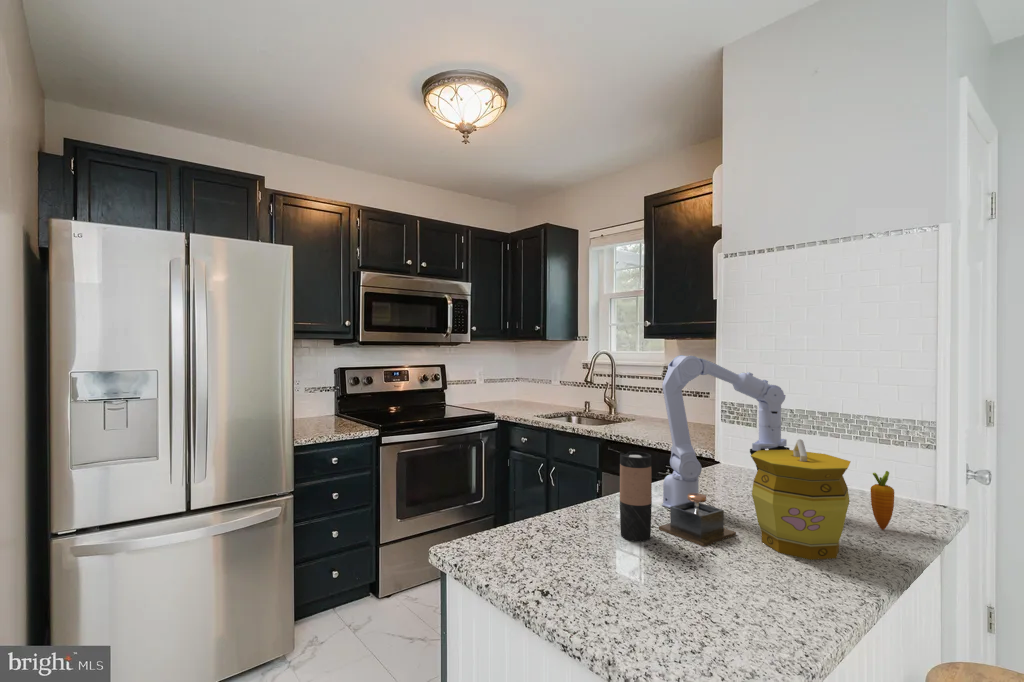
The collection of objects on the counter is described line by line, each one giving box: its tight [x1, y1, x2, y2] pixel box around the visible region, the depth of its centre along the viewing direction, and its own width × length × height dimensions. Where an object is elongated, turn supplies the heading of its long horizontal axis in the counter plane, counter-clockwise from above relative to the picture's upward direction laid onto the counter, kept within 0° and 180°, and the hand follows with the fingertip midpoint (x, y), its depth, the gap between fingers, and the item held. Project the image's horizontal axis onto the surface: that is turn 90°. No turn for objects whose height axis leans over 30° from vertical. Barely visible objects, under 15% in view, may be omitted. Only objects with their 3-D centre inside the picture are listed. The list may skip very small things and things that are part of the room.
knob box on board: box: [658, 501, 737, 547], centre depth 125 cm, size 13×13×6 cm
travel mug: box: [619, 451, 653, 543], centre depth 123 cm, size 8×8×20 cm
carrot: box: [870, 470, 895, 531], centre depth 128 cm, size 5×5×15 cm
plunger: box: [685, 493, 709, 516], centre depth 125 cm, size 7×7×5 cm
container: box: [750, 438, 851, 561], centre depth 117 cm, size 21×21×25 cm
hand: (769, 473), depth 143 cm, fingers open, 7 cm apart
